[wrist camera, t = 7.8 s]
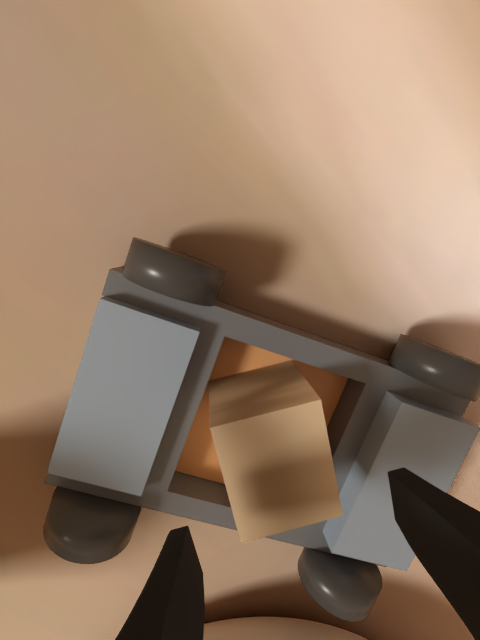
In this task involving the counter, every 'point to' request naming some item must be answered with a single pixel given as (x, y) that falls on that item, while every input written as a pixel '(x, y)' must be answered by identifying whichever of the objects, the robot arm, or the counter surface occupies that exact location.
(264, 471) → the engine block
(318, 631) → the bowl
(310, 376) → the car chassis
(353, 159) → the counter surface
